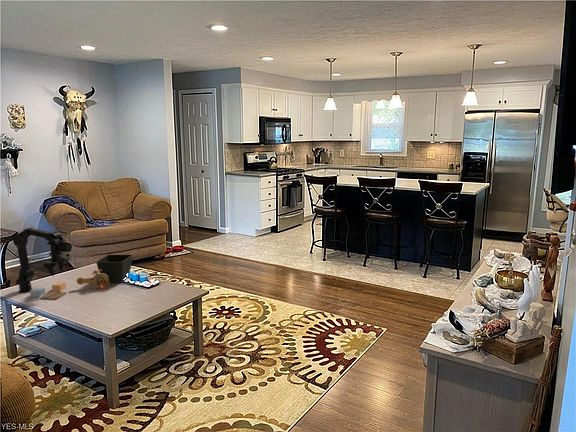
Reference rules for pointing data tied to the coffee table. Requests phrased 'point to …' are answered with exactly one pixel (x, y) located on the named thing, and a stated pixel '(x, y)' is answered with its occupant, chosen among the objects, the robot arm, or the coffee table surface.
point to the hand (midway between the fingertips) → (57, 273)
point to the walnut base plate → (53, 295)
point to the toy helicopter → (96, 280)
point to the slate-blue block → (37, 292)
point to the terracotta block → (59, 286)
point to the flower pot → (115, 267)
